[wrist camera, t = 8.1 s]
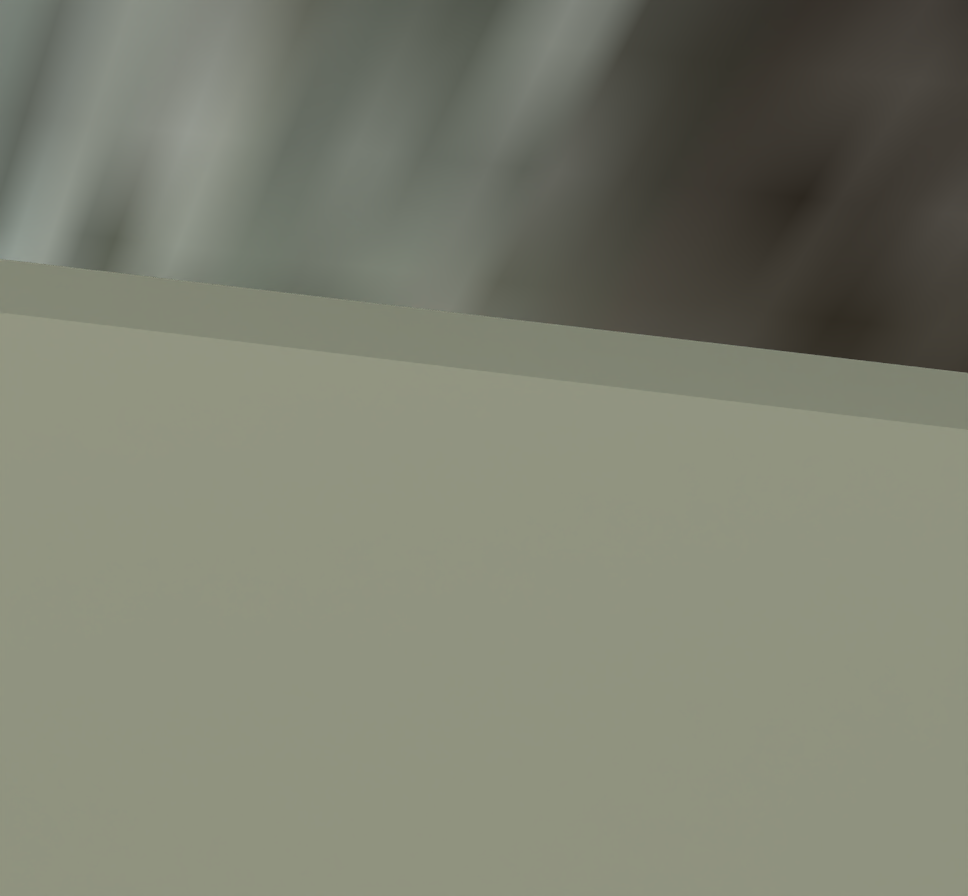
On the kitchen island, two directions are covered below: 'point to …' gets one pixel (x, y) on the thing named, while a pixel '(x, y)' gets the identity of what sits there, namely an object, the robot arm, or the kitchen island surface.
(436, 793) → the lid
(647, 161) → the kitchen island surface
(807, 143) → the kitchen island surface
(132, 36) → the kitchen island surface
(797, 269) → the kitchen island surface
